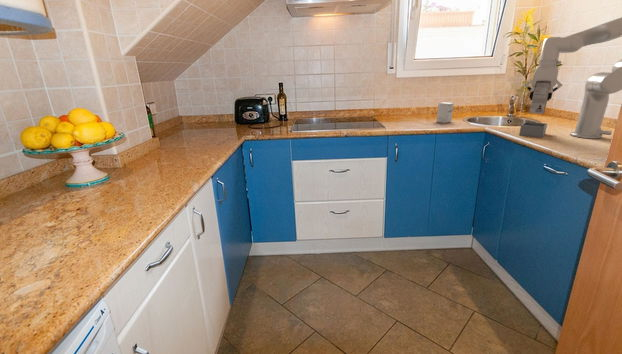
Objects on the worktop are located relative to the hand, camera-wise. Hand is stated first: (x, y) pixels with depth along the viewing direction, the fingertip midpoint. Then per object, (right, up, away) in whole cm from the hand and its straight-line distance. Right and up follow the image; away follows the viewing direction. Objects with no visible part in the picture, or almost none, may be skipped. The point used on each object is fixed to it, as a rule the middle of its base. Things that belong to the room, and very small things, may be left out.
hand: (539, 99), depth 162 cm
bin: (0, -17, +6) cm, 18 cm away
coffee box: (0, -6, +2) cm, 7 cm away
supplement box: (-30, -3, +49) cm, 57 cm away
